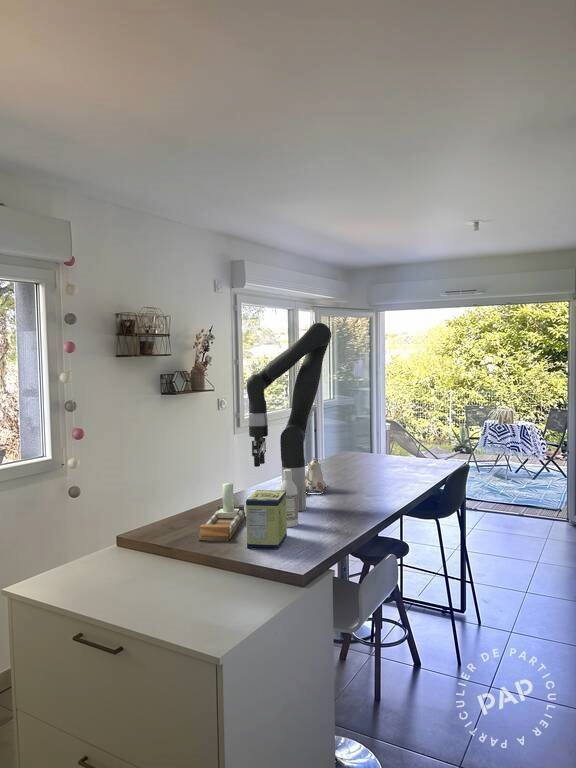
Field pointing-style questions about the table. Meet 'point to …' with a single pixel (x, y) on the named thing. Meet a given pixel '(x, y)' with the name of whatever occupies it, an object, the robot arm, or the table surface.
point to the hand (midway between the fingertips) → (259, 465)
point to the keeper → (227, 502)
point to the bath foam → (290, 498)
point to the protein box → (266, 519)
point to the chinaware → (314, 477)
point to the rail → (222, 522)
